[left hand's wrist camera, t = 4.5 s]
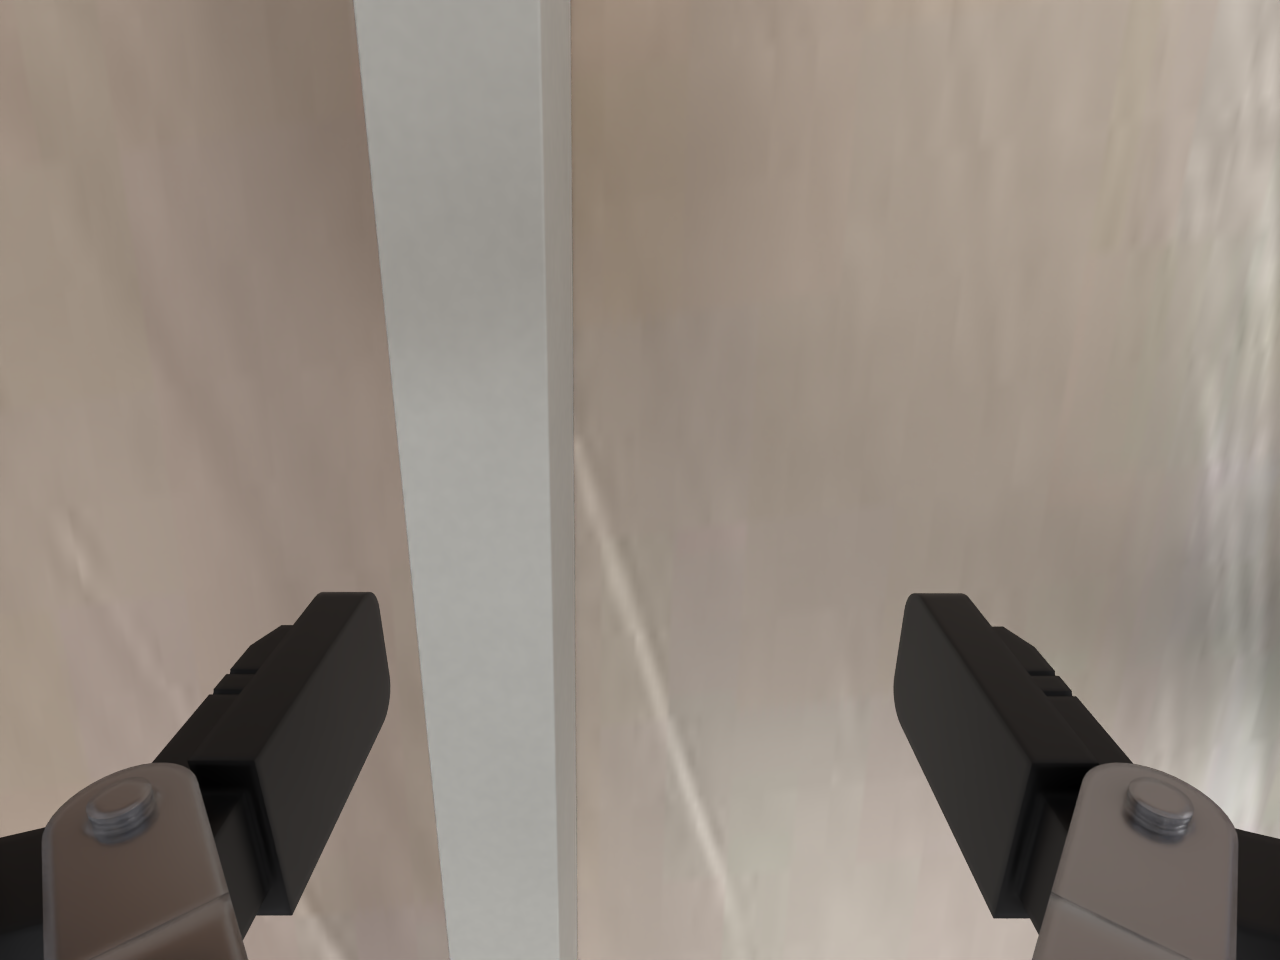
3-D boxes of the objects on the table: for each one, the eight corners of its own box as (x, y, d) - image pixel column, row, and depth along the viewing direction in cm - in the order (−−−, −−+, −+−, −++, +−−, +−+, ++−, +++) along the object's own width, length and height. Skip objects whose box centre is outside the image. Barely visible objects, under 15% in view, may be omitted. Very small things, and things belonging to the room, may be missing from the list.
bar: (416, -206, 21) (314, -372, 15) (569, -203, 21) (532, -367, 15) (513, 1230, 49) (492, 1386, 42) (579, 1232, 49) (568, 1390, 42)
